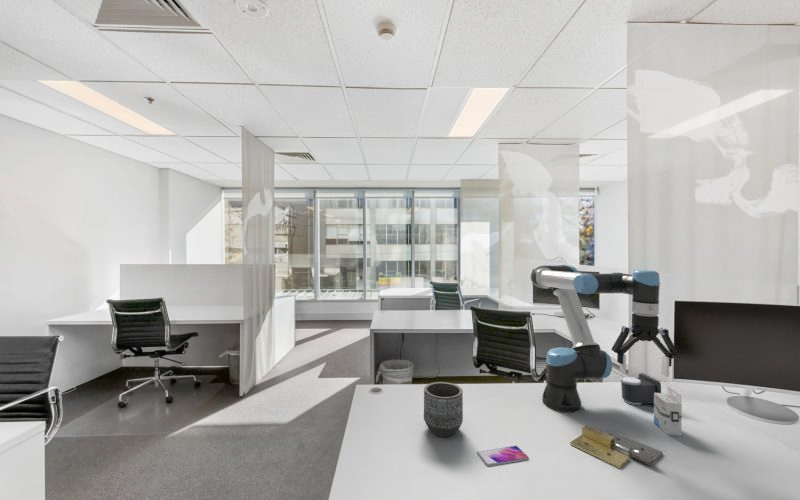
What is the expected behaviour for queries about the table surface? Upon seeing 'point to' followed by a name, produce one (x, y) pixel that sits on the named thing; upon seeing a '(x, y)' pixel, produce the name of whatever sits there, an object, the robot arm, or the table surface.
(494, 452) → the smartphone
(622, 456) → the brass leaf
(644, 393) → the light fixture
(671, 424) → the ink box
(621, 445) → the gunmetal leaf
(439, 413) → the planter
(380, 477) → the table surface
